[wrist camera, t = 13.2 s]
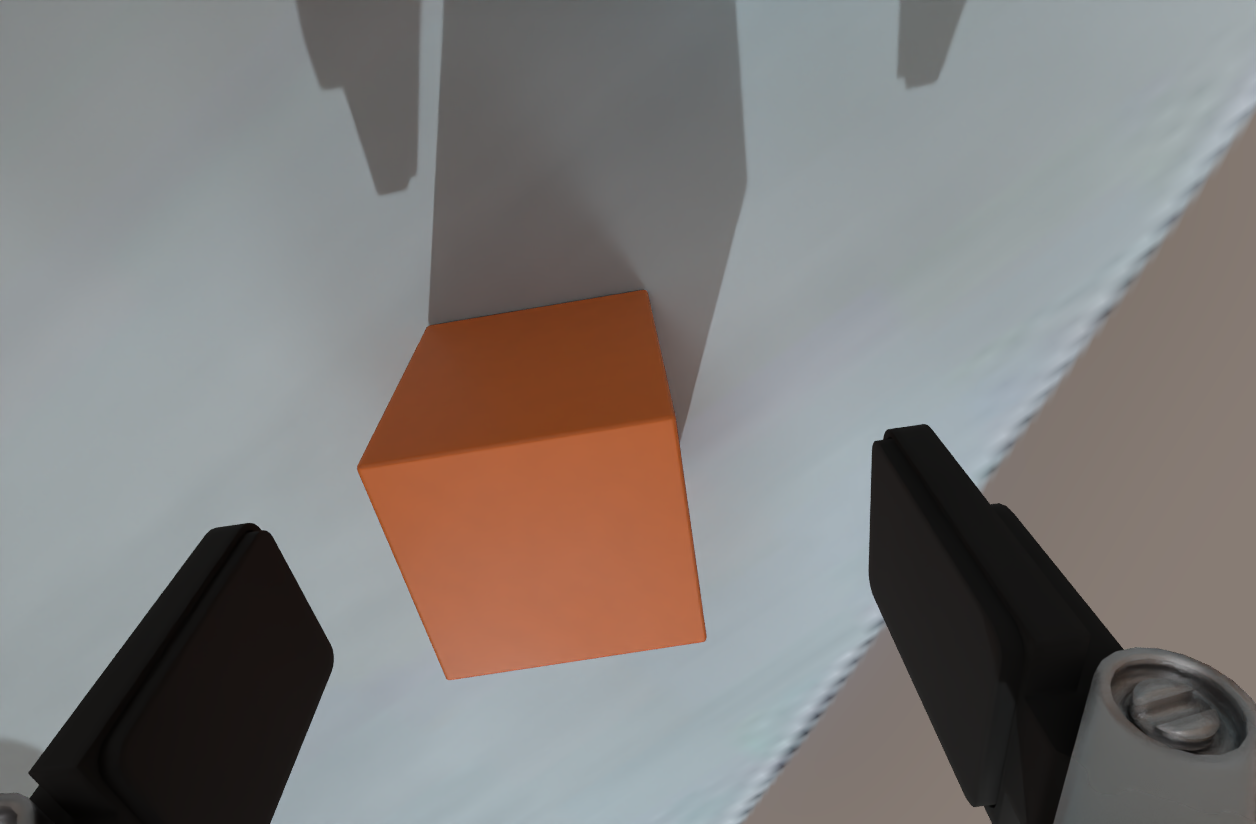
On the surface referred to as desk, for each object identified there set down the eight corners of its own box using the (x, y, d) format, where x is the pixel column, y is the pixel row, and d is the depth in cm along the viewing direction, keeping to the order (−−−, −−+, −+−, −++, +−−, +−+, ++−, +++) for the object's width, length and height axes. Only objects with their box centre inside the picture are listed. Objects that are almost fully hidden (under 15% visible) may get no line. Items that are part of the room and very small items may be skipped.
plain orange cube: (674, 471, 17) (707, 643, 12) (483, 501, 17) (446, 682, 12) (647, 287, 14) (675, 415, 10) (426, 325, 14) (354, 467, 10)
